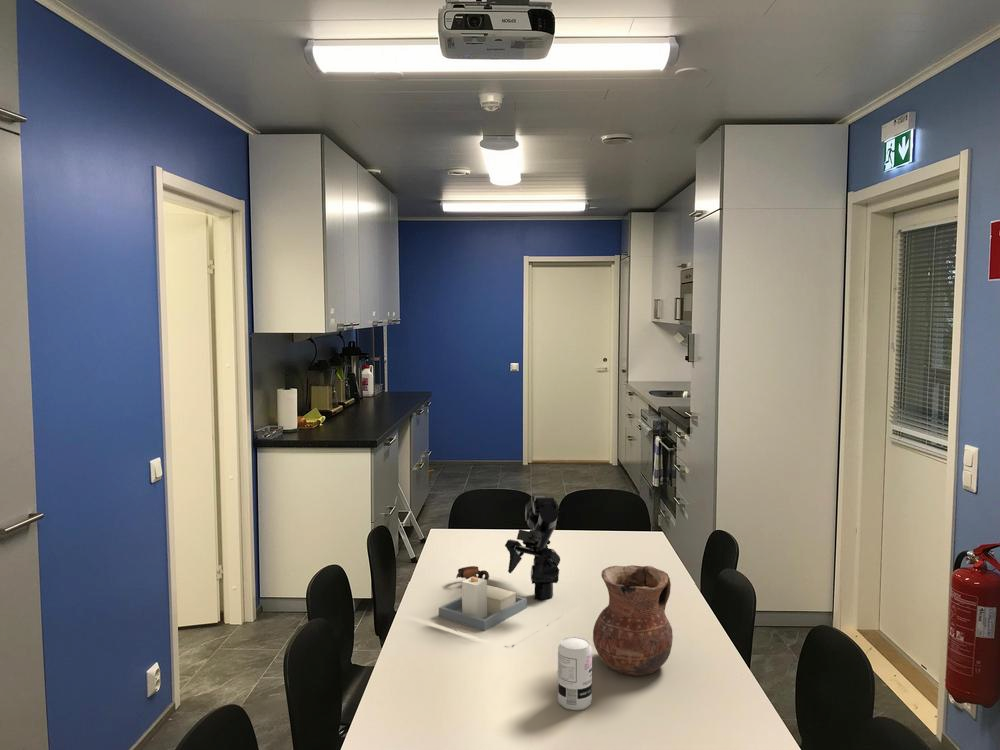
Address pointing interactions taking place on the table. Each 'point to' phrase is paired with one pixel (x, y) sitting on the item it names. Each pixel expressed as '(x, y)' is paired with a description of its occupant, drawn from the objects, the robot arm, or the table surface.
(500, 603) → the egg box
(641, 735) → the table surface
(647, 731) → the table surface
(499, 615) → the tote
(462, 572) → the pottery mug
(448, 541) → the table surface
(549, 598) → the robot arm
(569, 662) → the supplement can
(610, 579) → the jug
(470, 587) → the juice carton
